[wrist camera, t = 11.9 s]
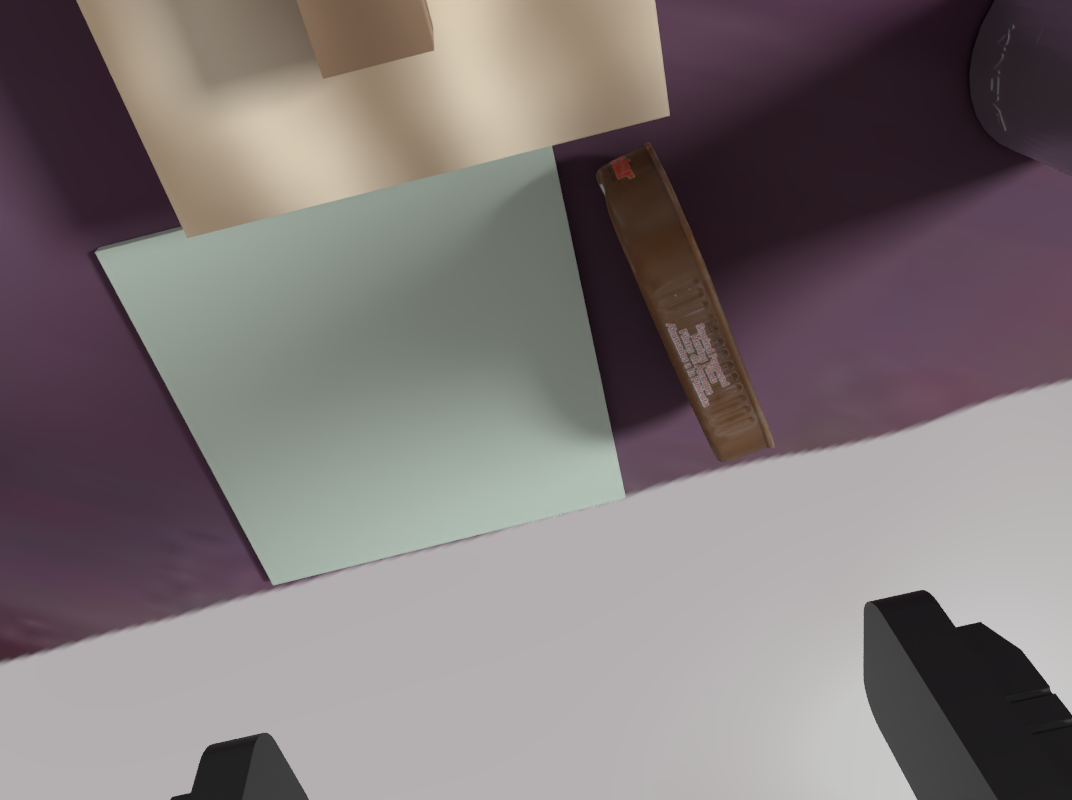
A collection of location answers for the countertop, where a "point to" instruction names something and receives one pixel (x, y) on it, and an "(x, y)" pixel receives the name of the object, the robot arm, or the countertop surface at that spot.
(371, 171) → the cover board
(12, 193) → the countertop surface
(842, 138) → the countertop surface
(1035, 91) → the robot arm
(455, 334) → the mat
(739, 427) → the tin
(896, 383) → the countertop surface
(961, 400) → the countertop surface
